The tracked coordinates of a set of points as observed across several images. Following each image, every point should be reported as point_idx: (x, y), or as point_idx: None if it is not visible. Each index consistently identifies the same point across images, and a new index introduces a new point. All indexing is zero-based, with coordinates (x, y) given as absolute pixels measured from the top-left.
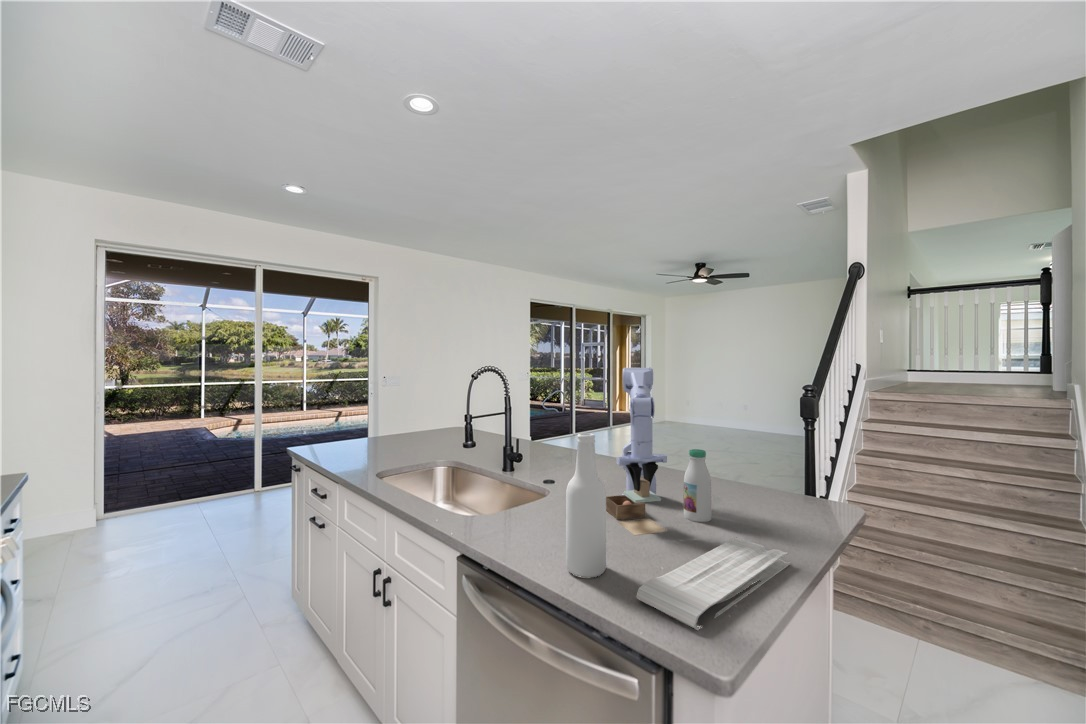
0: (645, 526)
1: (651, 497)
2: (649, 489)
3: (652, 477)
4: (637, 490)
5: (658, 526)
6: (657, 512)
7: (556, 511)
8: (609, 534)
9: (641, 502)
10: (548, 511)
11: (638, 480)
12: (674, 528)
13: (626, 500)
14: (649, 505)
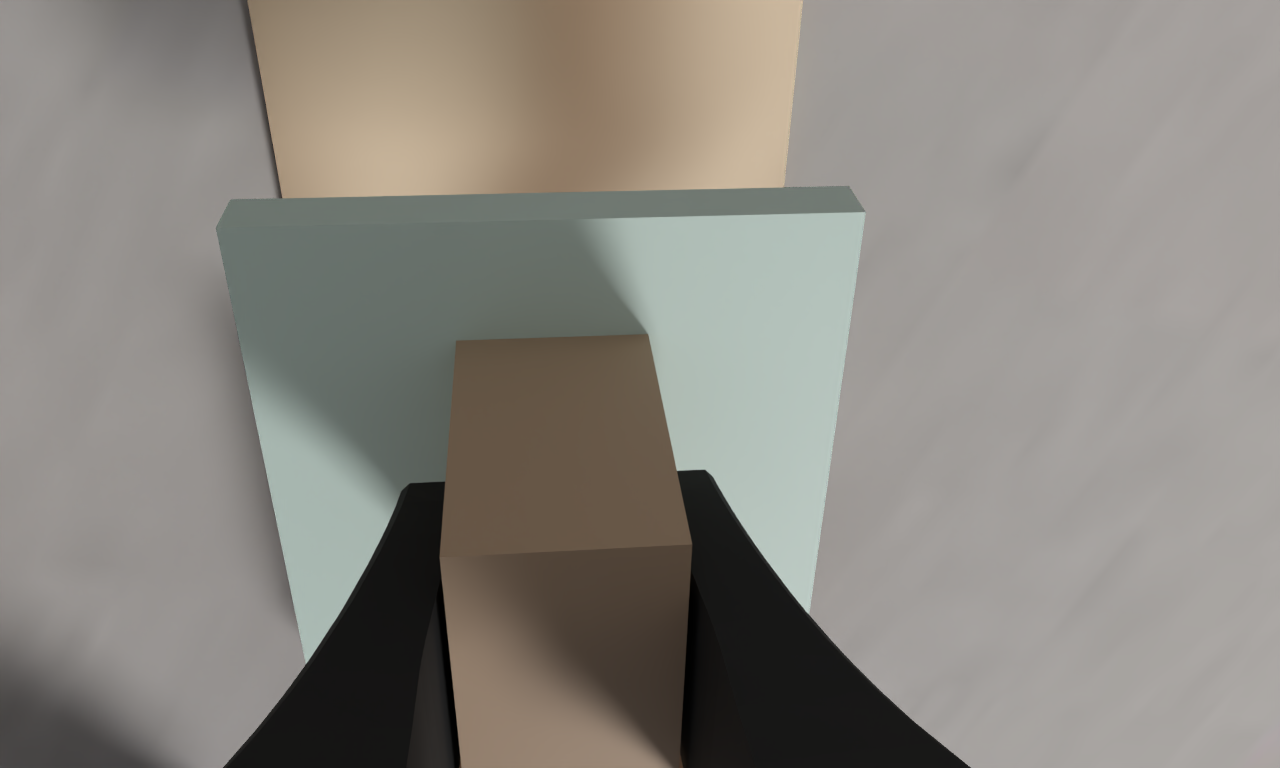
0: (494, 171)
1: (437, 283)
2: (450, 433)
3: (307, 690)
4: (711, 480)
5: (307, 127)
6: (120, 561)
7: (1163, 721)
8: (1071, 71)
9: None
10: (1227, 730)
11: (763, 624)
12: (70, 35)
13: (460, 763)
14: (143, 736)
